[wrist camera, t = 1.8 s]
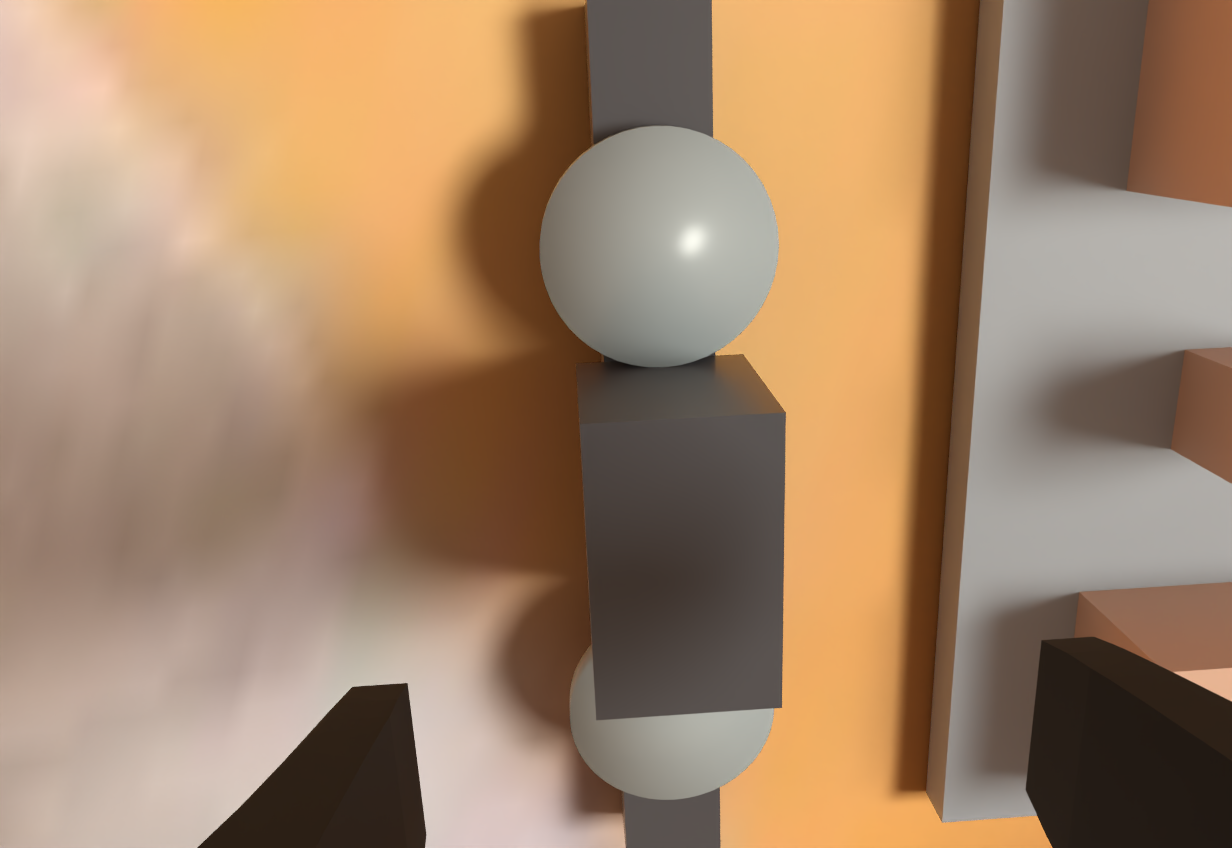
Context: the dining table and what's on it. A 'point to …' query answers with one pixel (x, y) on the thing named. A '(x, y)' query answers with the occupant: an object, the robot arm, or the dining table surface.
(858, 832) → the dining table surface
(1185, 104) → the display stand
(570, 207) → the stacked ball block column
